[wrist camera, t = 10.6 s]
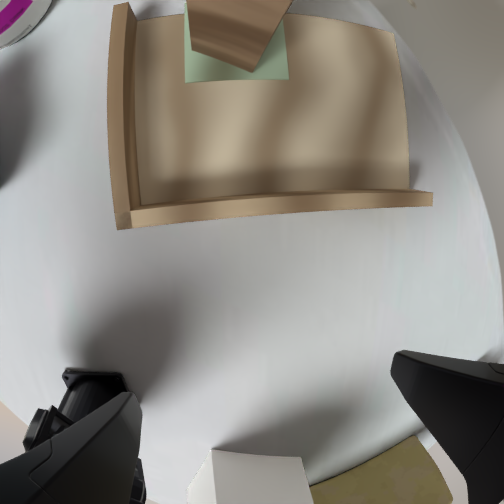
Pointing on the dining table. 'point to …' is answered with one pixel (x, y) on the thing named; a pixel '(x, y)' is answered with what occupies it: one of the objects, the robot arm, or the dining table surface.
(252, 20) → the walnut block
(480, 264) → the dining table surface
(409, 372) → the robot arm
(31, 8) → the supplement can
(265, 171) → the tray
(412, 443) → the cheese
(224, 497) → the milk
